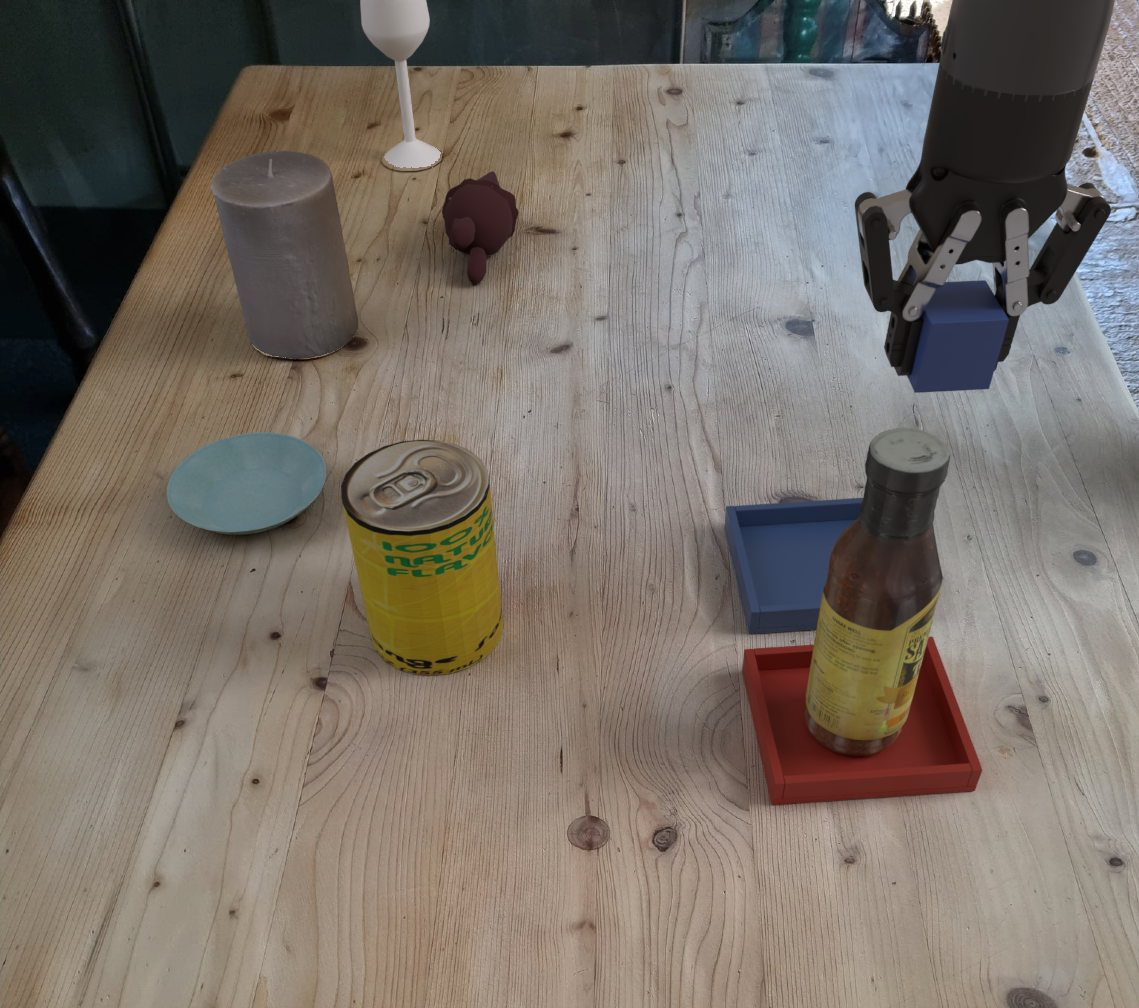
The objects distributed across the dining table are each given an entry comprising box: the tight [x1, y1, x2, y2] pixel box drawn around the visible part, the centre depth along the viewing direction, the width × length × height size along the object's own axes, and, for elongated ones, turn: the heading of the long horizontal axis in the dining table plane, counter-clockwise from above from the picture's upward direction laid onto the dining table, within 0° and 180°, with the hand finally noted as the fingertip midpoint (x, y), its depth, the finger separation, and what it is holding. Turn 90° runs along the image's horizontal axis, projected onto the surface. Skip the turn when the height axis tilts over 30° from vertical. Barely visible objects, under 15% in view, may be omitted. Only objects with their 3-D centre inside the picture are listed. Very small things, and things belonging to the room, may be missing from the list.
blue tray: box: [723, 497, 863, 635], centre depth 84 cm, size 12×11×2 cm
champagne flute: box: [359, 0, 441, 168], centre depth 121 cm, size 7×7×24 cm
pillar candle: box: [209, 150, 359, 360], centre depth 102 cm, size 10×10×15 cm
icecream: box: [441, 171, 520, 286], centre depth 114 cm, size 7×7×15 cm
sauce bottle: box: [805, 427, 951, 756], centre depth 68 cm, size 6×6×20 cm
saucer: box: [166, 431, 327, 536], centre depth 91 cm, size 12×12×2 cm
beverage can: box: [340, 439, 504, 677], centre depth 78 cm, size 9×9×12 cm
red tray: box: [741, 636, 983, 806], centre depth 75 cm, size 12×11×2 cm
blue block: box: [906, 279, 1009, 394], centre depth 72 cm, size 4×4×4 cm
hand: (942, 365), depth 73 cm, fingers closed on blue block, 4 cm apart
